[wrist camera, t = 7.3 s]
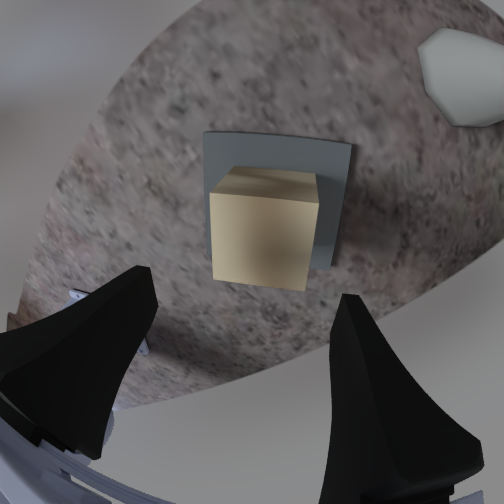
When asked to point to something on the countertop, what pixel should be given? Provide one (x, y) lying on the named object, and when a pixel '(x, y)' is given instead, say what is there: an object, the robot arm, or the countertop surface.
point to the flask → (464, 77)
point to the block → (263, 226)
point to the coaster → (284, 158)
